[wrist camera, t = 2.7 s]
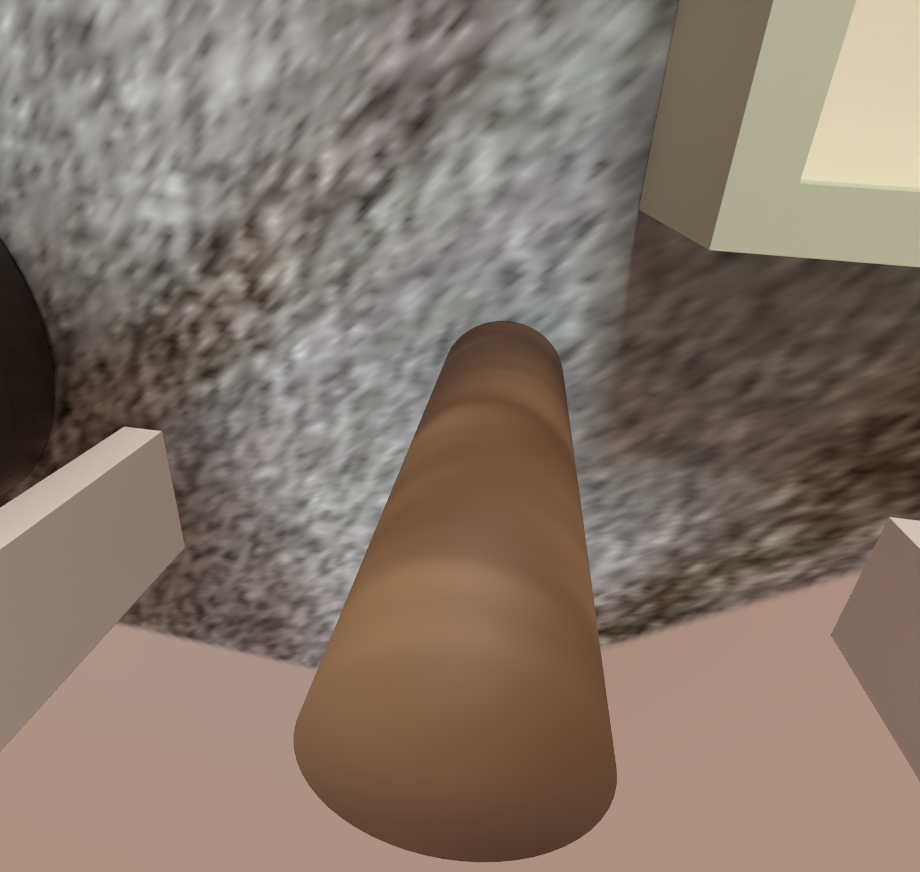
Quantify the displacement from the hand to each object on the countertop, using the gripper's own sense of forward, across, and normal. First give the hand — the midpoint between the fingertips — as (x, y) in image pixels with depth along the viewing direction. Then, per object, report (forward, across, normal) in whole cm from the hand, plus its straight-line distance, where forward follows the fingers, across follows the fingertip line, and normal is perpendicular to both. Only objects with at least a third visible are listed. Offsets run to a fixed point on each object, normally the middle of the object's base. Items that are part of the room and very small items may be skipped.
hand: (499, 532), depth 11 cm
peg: (+7, 0, 0) cm, 7 cm away
